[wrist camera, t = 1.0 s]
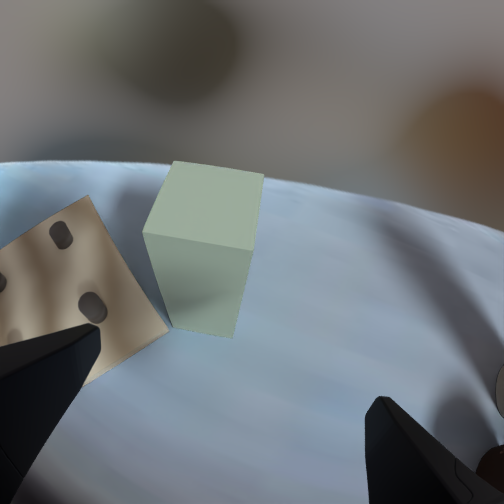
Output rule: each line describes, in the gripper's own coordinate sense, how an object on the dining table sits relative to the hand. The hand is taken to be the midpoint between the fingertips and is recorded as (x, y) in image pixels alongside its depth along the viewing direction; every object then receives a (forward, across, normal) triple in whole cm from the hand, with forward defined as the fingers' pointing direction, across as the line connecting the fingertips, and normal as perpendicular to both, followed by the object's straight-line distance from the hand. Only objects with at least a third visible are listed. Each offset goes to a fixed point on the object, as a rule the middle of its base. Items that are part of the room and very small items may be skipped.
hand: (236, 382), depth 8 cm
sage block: (+15, +3, +6) cm, 17 cm away
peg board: (+12, +18, +9) cm, 24 cm away
